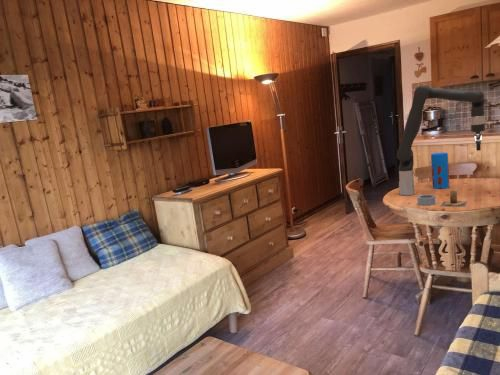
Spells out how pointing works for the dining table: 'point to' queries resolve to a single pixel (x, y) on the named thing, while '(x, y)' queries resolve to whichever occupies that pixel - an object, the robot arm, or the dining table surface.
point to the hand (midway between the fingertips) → (478, 149)
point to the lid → (453, 200)
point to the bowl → (426, 200)
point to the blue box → (440, 170)
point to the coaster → (453, 206)
